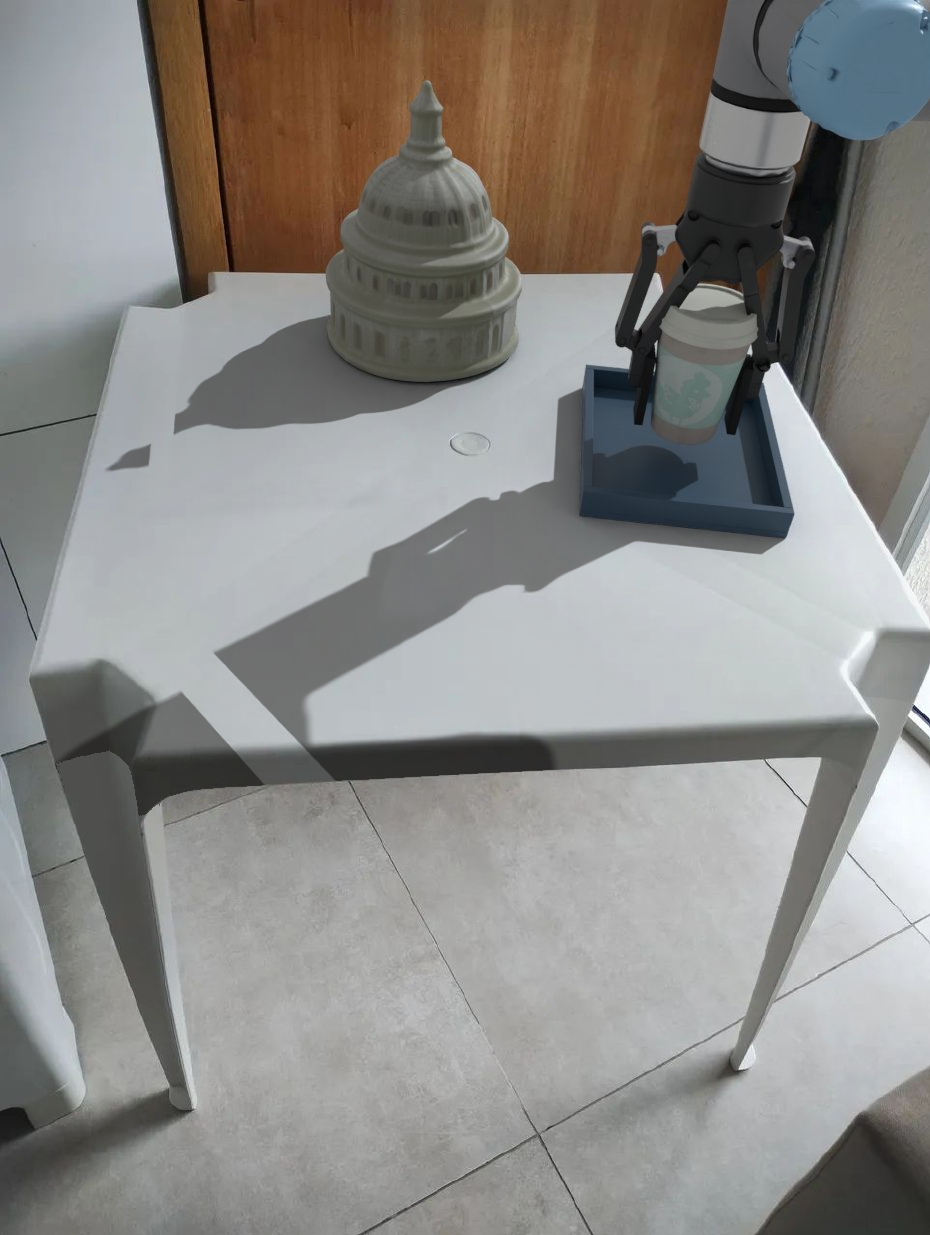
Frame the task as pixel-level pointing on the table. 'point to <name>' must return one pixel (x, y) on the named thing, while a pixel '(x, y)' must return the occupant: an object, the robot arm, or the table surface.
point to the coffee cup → (699, 362)
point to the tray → (679, 466)
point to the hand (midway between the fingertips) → (683, 421)
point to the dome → (423, 266)
